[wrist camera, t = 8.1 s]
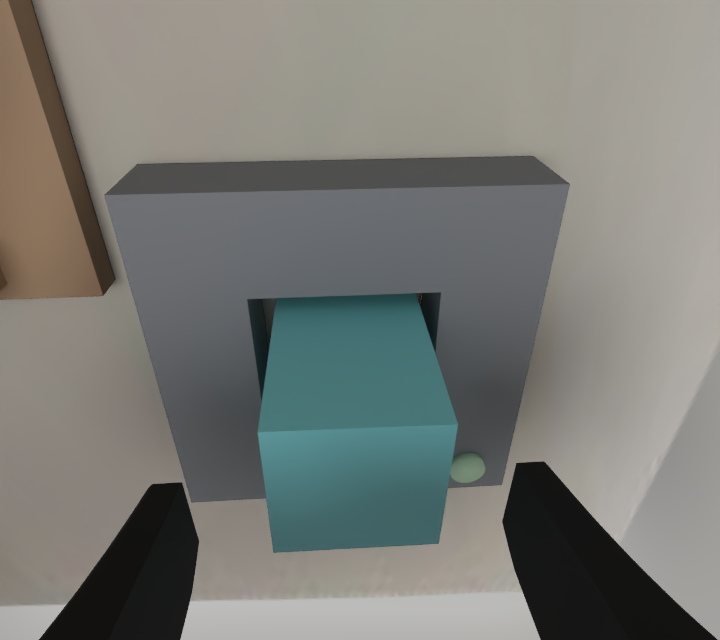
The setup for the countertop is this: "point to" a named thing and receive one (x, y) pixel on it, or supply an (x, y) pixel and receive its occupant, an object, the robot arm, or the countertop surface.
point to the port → (334, 286)
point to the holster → (41, 177)
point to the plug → (354, 425)
